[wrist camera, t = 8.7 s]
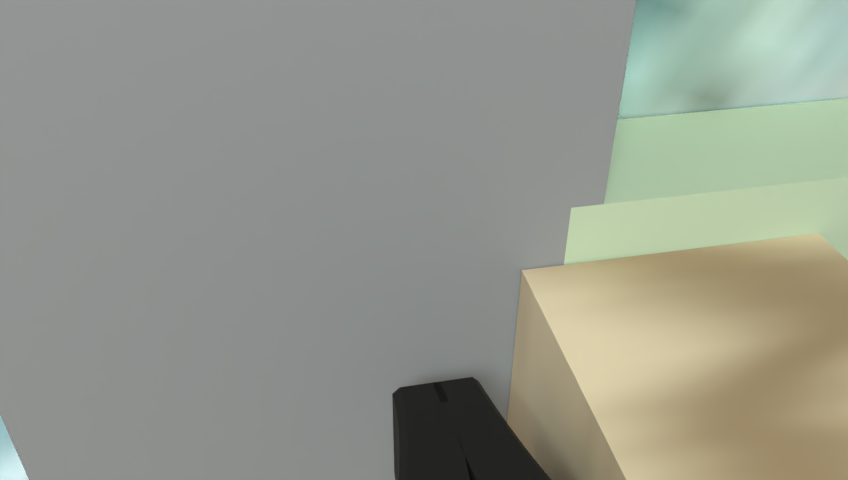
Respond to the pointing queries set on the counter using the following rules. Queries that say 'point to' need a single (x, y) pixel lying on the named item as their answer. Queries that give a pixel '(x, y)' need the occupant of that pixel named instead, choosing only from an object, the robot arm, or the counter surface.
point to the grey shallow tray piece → (331, 214)
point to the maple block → (687, 364)
